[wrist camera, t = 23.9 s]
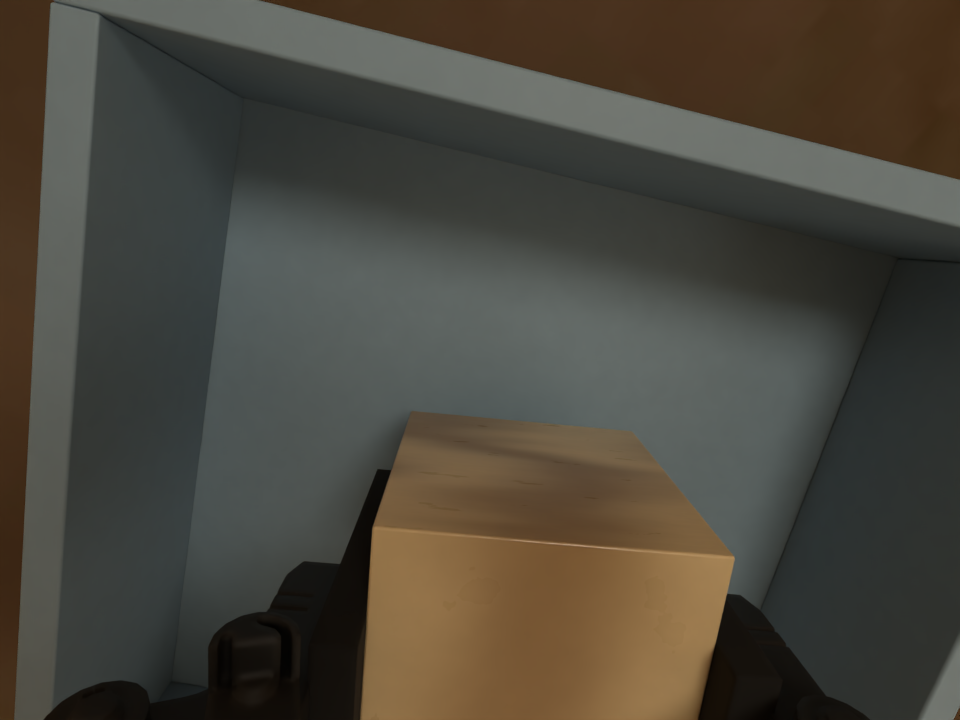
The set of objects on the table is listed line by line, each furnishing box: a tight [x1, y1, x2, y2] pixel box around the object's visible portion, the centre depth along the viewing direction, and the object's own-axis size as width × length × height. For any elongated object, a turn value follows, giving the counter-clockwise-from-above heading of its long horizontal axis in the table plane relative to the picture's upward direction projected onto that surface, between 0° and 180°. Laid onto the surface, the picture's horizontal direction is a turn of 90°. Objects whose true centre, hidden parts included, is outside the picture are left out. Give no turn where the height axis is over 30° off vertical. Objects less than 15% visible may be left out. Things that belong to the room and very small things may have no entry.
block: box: [360, 411, 735, 720], centre depth 13 cm, size 6×6×6 cm
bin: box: [14, 0, 960, 720], centre depth 15 cm, size 21×21×6 cm
